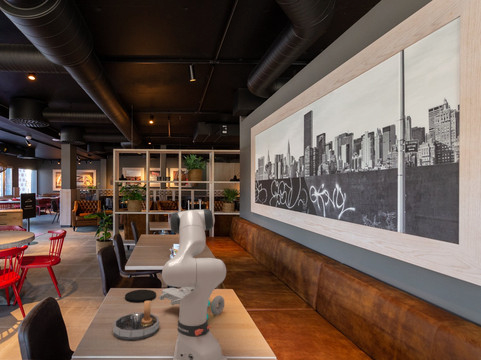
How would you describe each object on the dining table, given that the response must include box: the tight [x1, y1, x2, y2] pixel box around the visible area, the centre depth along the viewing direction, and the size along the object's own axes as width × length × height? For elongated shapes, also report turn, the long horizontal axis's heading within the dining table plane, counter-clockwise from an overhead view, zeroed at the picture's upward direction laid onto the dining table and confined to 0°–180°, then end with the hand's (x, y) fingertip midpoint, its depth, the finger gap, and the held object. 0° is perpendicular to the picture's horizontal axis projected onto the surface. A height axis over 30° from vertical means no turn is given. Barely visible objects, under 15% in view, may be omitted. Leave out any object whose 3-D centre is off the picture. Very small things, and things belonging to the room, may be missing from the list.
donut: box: [210, 295, 225, 316], centre depth 168 cm, size 10×4×10 cm, turn 147°
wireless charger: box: [124, 289, 157, 304], centre depth 189 cm, size 18×18×2 cm
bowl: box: [112, 311, 160, 342], centre depth 147 cm, size 20×20×8 cm
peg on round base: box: [142, 301, 152, 325], centre depth 152 cm, size 5×5×10 cm
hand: (165, 300), depth 160 cm, fingers open, 8 cm apart
